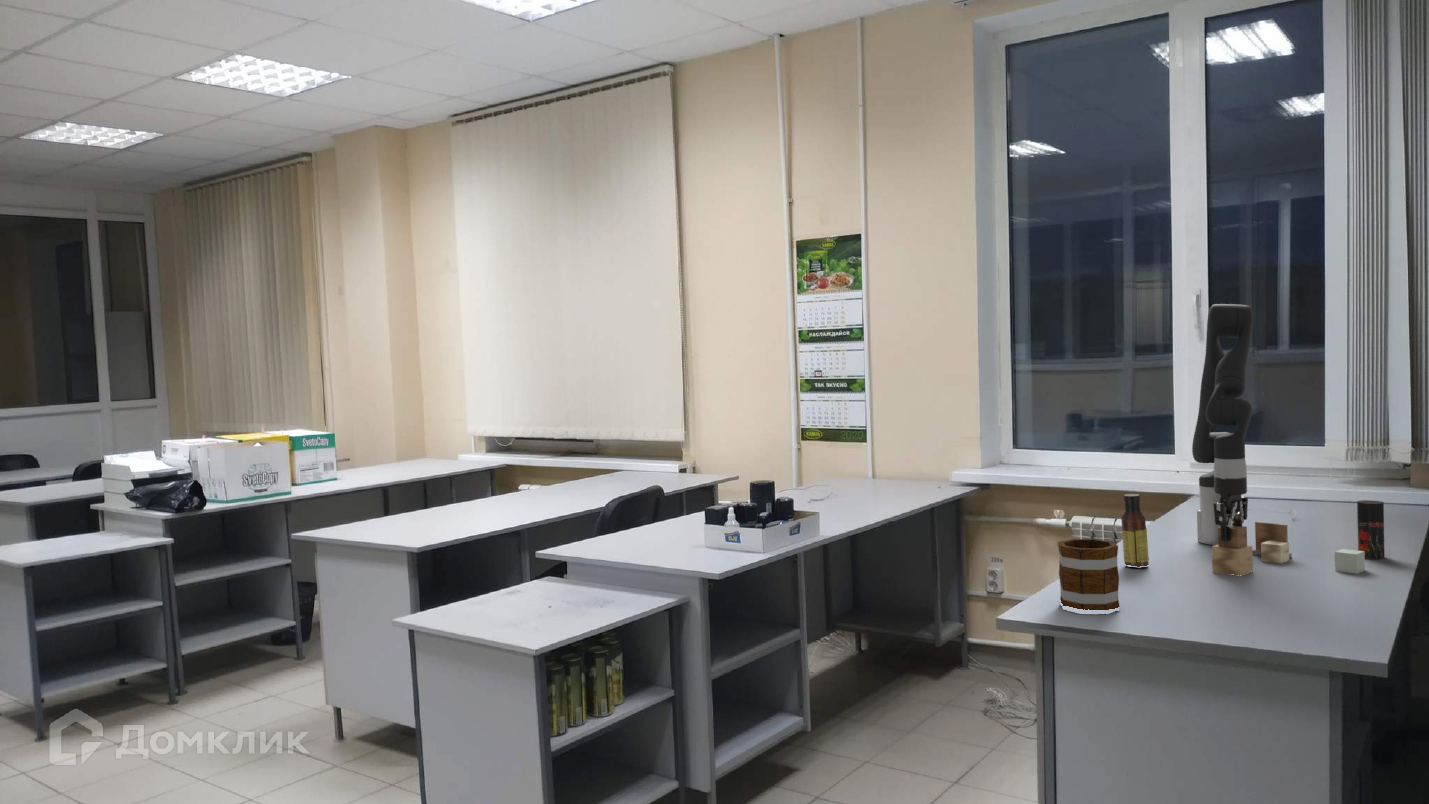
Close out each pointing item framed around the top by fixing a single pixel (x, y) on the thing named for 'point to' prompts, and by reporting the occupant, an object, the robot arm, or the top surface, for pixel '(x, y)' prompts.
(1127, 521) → the sauce bottle
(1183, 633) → the top surface
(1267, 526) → the walnut card
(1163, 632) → the top surface
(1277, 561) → the birch cube
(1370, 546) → the deodorant
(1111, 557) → the mug
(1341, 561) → the sage painted cube
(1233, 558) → the oak base block
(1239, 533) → the walnut cube
